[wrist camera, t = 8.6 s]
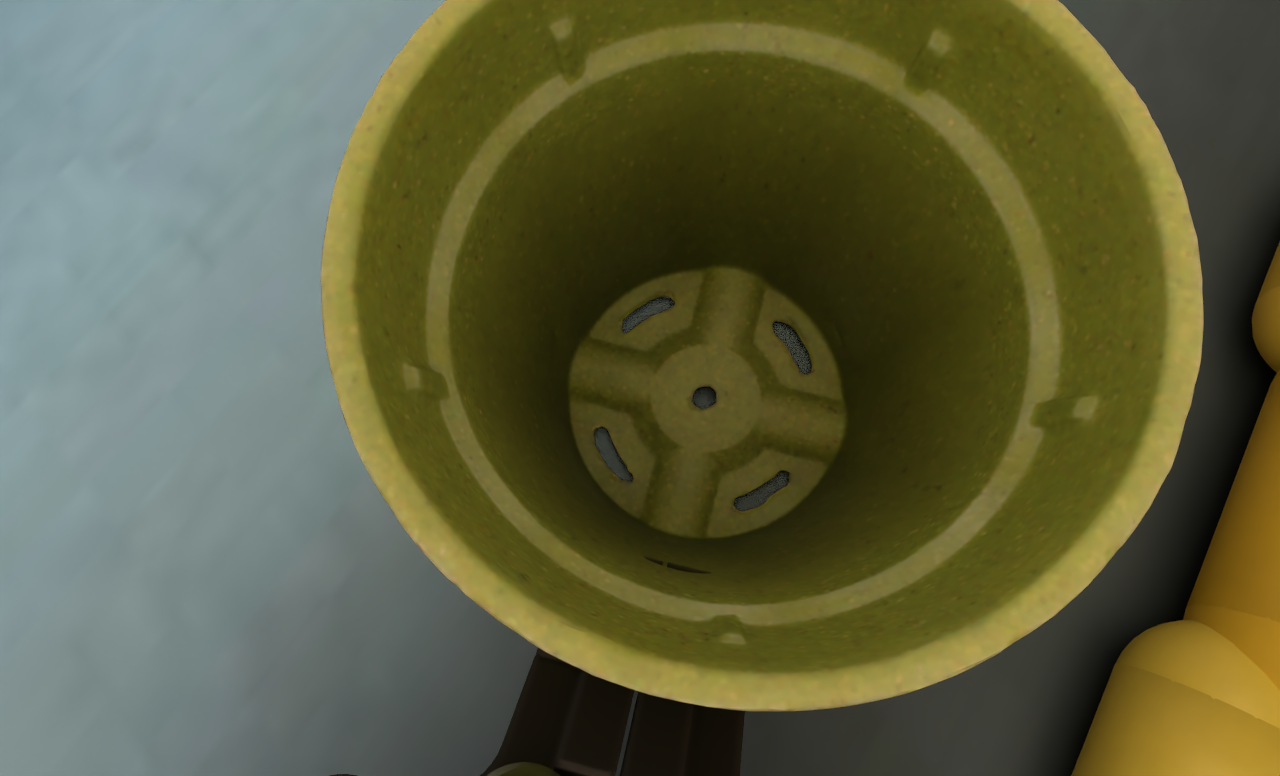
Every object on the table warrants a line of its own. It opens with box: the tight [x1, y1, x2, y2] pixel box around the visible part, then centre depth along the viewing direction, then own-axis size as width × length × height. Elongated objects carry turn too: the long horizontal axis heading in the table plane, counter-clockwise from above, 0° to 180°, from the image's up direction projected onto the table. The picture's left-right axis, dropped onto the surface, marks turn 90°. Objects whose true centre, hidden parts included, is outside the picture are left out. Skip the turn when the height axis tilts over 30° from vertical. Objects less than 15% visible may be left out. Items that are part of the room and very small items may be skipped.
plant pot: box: [321, 0, 1204, 711], centre depth 12 cm, size 9×9×9 cm
